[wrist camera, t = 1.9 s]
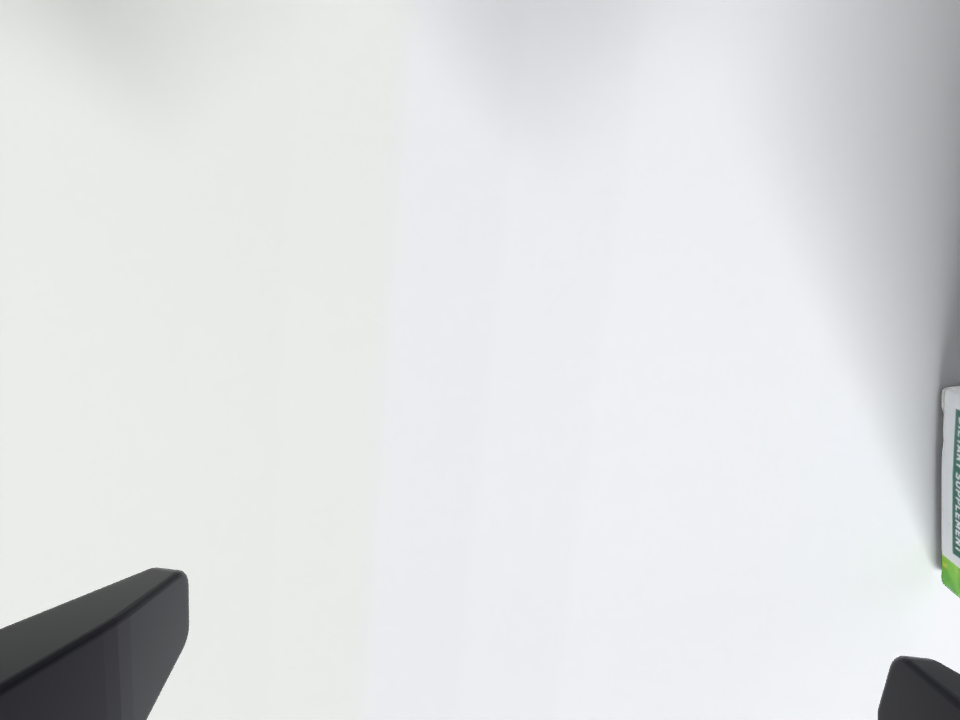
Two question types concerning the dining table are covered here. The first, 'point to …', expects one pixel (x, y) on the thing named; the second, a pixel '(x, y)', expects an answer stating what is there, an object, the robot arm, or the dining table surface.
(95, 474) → the dining table surface
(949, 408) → the syrup box
